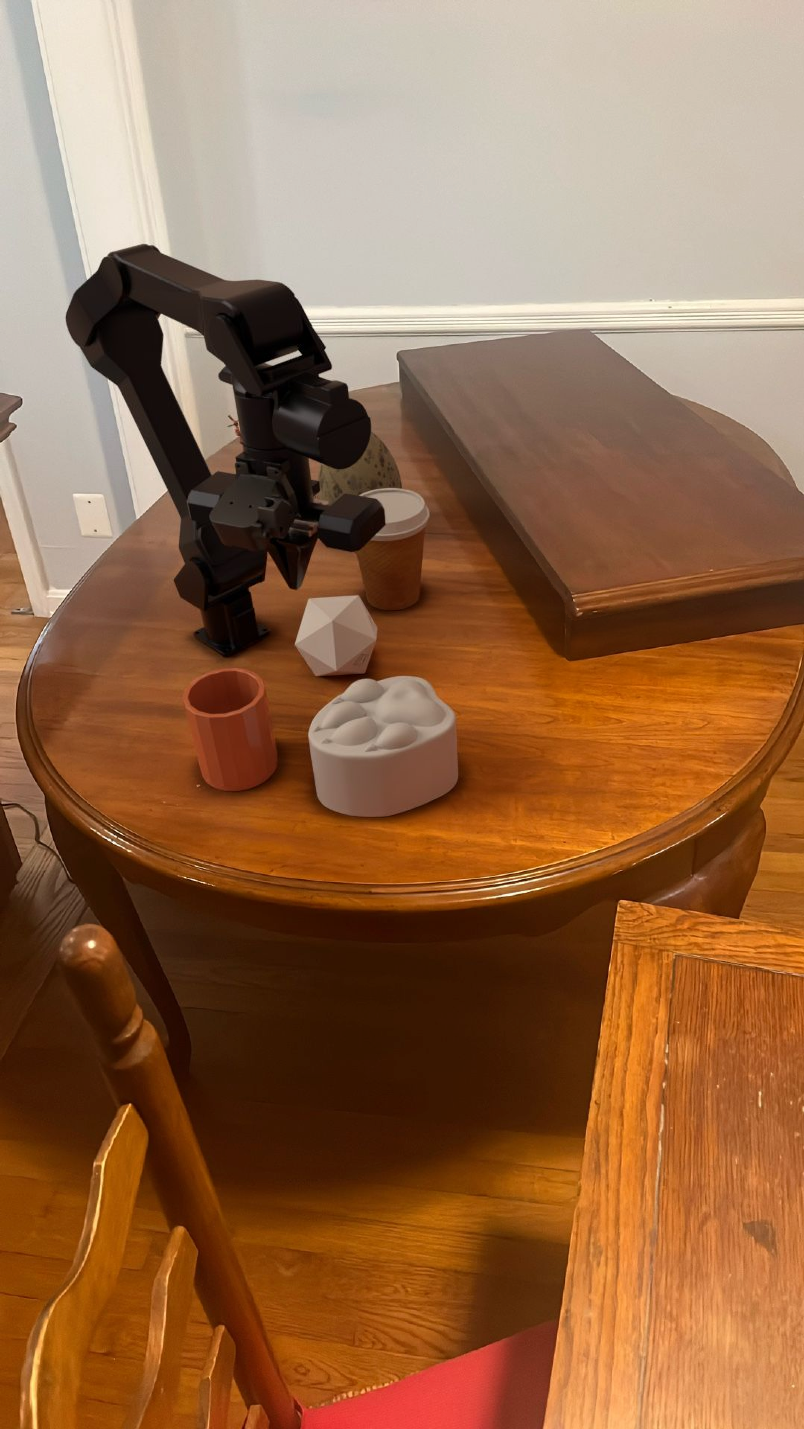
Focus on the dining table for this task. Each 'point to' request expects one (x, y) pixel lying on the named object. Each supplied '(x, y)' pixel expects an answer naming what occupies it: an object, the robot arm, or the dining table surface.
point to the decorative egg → (361, 473)
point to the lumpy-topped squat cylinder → (383, 747)
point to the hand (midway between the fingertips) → (295, 587)
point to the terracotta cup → (231, 728)
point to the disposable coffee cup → (395, 550)
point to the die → (336, 635)
